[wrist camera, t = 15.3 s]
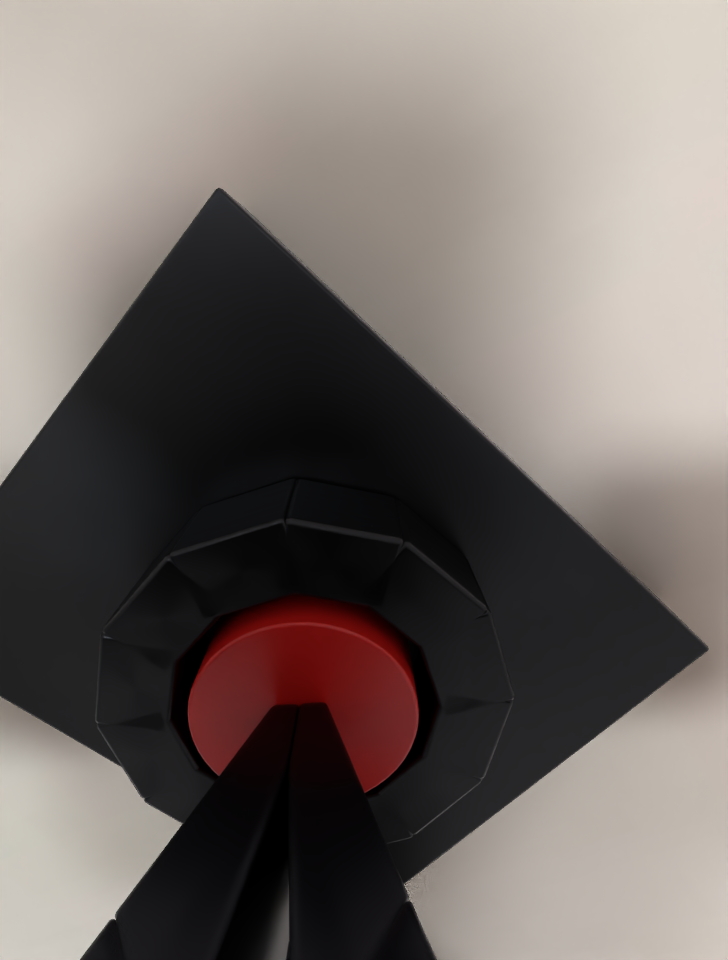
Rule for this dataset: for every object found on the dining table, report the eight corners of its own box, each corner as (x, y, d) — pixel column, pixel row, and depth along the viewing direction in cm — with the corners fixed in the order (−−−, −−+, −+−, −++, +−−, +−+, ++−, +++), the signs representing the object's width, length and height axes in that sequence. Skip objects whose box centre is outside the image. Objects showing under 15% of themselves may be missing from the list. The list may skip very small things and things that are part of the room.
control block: (662, 602, 12) (782, 719, 9) (366, 843, 14) (371, 1009, 11) (241, 203, 9) (178, 152, 6) (-44, 586, 11) (-207, 705, 8)
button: (448, 642, 10) (467, 713, 8) (322, 755, 11) (317, 839, 9) (298, 525, 9) (287, 577, 7) (175, 658, 10) (139, 732, 8)
